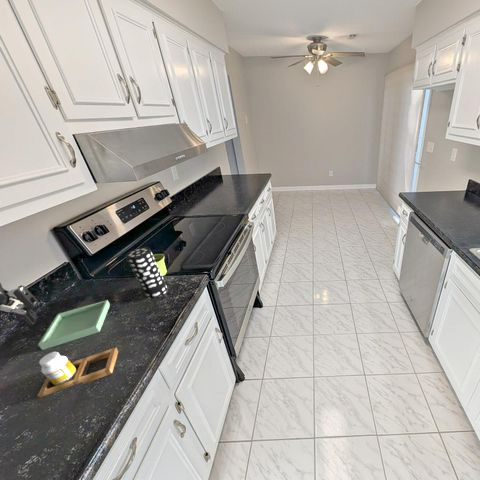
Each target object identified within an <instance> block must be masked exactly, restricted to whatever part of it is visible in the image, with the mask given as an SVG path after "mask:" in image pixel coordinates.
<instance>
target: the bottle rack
mask: <svg viewBox="0 0 480 480" xmlns="http://www.w3.org/2000/svg"><path fill="white" fill-rule="evenodd" d="M118 353H119V350H118V348H117V347H112V348H109V349H107V350H103V351H101V352H97V353H95V354H92V355H88V356H87V357H86V356H85V357H83V358H80V359H78V360H74V361H72V362H71V361H70V362H71V363H72V365H73V366H74V367H77V366H78V368H77V373H76V375H75V377H74V378H73V379H71V380H70V381H68V382H65V383H63V384H60V385H57V386H55V385H53V386H51V384H52V382H51V381H50V380H49V379H48V378H47V377H46V379H44V382H43V384H42V386H41V388H40V390H39V392H38V393H37V397H38V398H39V399H40V398H43V397H46V396H48V395H51V394H53V393H57V392H58V391H61V390H64V389H67V388H70V387H72V386H75V385H78V384H80V383H81V386H83V385H86V384H89V383H91V382H93V381H96V380H99V379H101V378H104V377H107V376H110V375H113V372H114V368H115V365H116V361H117V359H118ZM105 359H107V362H106V363H105V364H106V365H105V367H104V368H102V369H99V370H96V371H93V372H90V373H88V374H85V375H83V374H84V371H85V369H86V367H87V365H88V363H89V364H90V365H92V364H93V363H96V362H100V361H102V360H105ZM50 386H51V387H50Z"/></svg>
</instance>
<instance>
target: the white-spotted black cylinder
mask: <svg viewBox="0 0 480 480" xmlns="http://www.w3.org/2000/svg"><path fill="white" fill-rule="evenodd" d="M153 255H154V254H153V252H152V249H151V248H150V247H147V246H144V247H139V248H135V249H133V250H131V251H129V252H127V253H126V254H125V258H126V260H127V262H128V264H129V266H130V268H131V270H132V272H133V275H134V277H135V278H136V280H137V282H138V284H139V287H140V288H141V291H142V292H143V294H144V296H145V298H146V299H148V300H152V299H156V298H160V297H162V296H164V295H165V294H166V293H167V291H168V290H169V289H168V286H167V283H166V281H165V279H164V276H162V275H161V272H160V270H159V268H158V266H157V263H156V261H155V259H154V256H153Z"/></svg>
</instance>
